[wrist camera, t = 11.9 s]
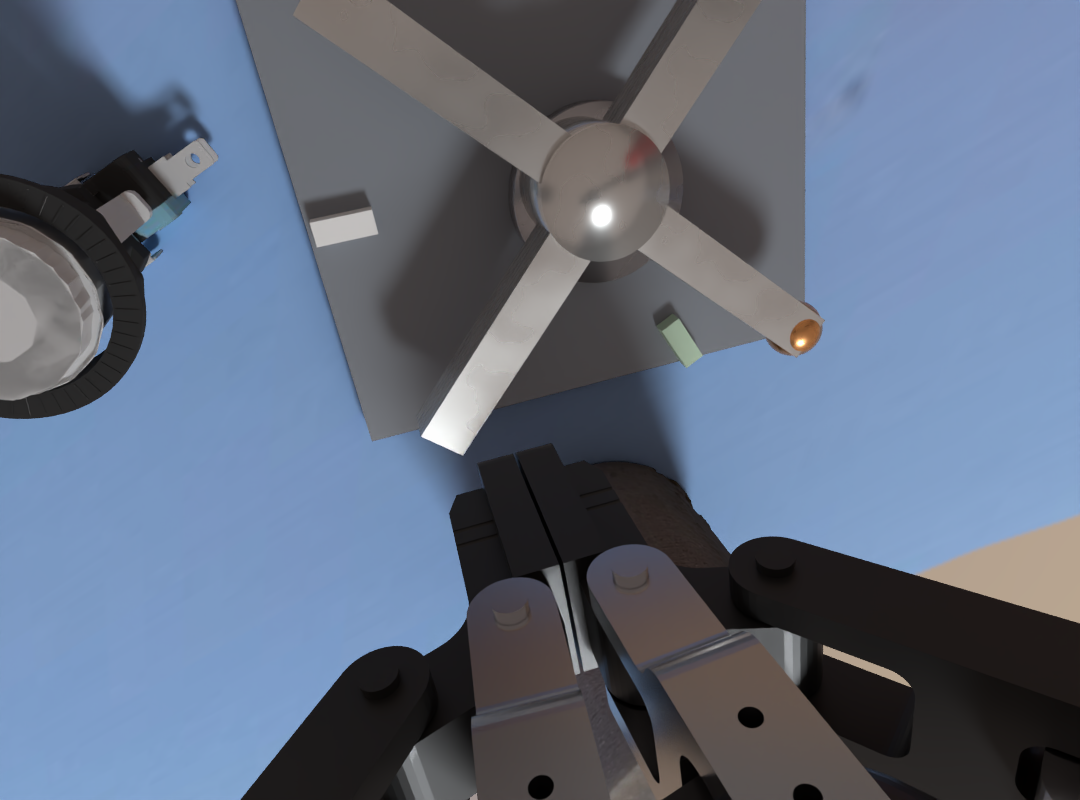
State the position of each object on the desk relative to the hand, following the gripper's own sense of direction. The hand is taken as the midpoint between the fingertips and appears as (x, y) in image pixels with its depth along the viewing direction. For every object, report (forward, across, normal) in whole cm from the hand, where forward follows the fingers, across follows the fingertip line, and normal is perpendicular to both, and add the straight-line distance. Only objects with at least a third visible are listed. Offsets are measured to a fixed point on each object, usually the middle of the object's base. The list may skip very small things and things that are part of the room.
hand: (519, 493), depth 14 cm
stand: (+14, -5, -3) cm, 16 cm away
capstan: (+13, -5, -3) cm, 15 cm away
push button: (+14, +9, -5) cm, 18 cm away
